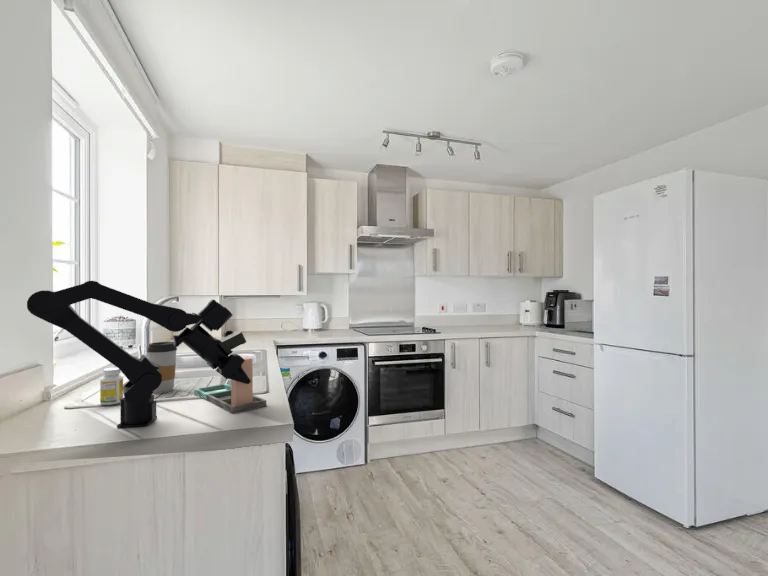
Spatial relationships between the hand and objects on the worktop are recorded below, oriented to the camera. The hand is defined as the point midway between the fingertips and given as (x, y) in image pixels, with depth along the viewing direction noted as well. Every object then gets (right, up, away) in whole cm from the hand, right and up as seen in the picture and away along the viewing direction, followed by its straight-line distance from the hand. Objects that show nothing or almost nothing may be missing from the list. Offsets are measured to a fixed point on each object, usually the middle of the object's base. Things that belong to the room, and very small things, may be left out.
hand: (247, 381), depth 111 cm
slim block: (-1, -7, -1) cm, 7 cm away
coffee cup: (-32, -7, +16) cm, 37 cm away
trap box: (-7, -7, +5) cm, 11 cm away
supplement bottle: (-39, -7, +3) cm, 40 cm away
